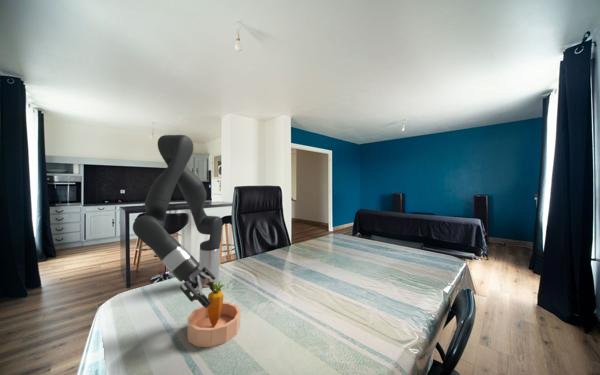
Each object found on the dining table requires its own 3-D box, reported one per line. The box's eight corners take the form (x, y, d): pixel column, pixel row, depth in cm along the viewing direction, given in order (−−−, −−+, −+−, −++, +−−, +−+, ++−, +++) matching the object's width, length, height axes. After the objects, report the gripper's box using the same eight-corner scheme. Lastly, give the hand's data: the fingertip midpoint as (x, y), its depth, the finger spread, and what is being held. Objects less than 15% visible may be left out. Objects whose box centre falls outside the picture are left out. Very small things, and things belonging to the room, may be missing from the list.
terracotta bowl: (201, 315, 80) (202, 301, 80) (244, 316, 80) (245, 303, 80) (176, 345, 64) (177, 328, 64) (230, 347, 64) (231, 330, 64)
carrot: (216, 320, 76) (219, 277, 76) (224, 326, 72) (227, 281, 73) (202, 326, 72) (205, 281, 72) (210, 333, 69) (213, 285, 69)
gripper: (177, 262, 65) (213, 302, 65) (199, 249, 80) (229, 282, 79) (159, 279, 65) (195, 319, 65) (184, 263, 80) (214, 296, 79)
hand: (214, 298), depth 72 cm, fingers open, 8 cm apart
